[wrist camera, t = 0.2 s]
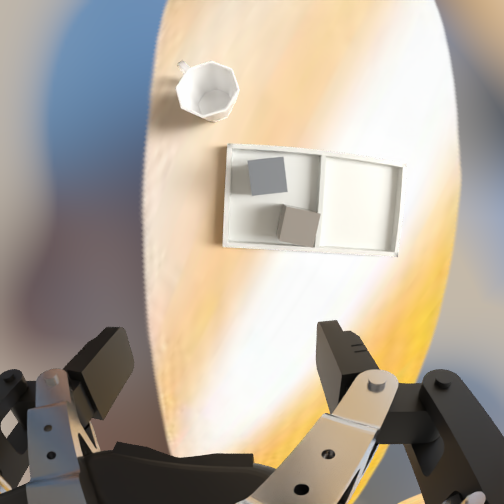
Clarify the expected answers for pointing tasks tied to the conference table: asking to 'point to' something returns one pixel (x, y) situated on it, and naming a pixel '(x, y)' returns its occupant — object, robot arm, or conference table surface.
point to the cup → (207, 90)
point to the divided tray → (317, 200)
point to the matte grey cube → (267, 176)
